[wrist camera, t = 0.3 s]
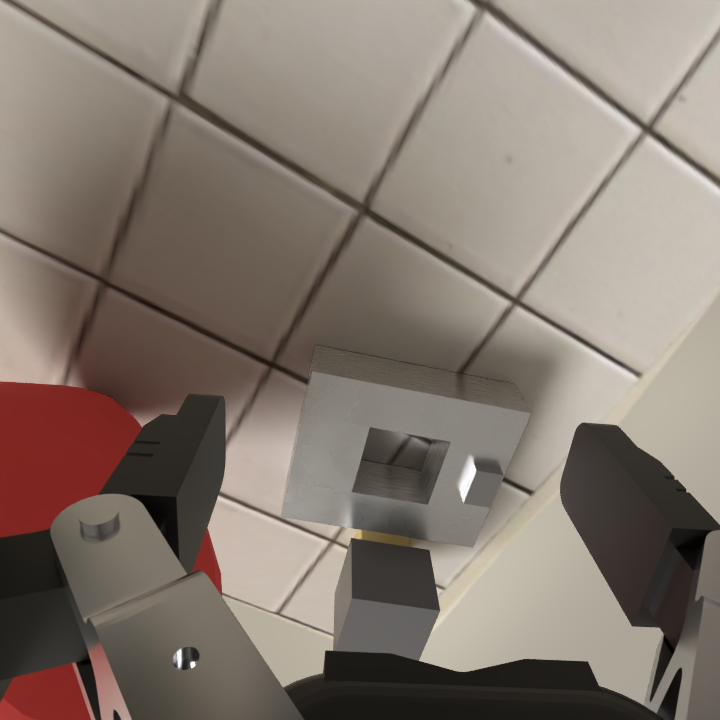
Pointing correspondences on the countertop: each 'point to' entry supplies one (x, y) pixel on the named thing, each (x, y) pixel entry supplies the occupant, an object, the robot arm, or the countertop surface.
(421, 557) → the plug
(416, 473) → the socket plate
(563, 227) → the countertop surface
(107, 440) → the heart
